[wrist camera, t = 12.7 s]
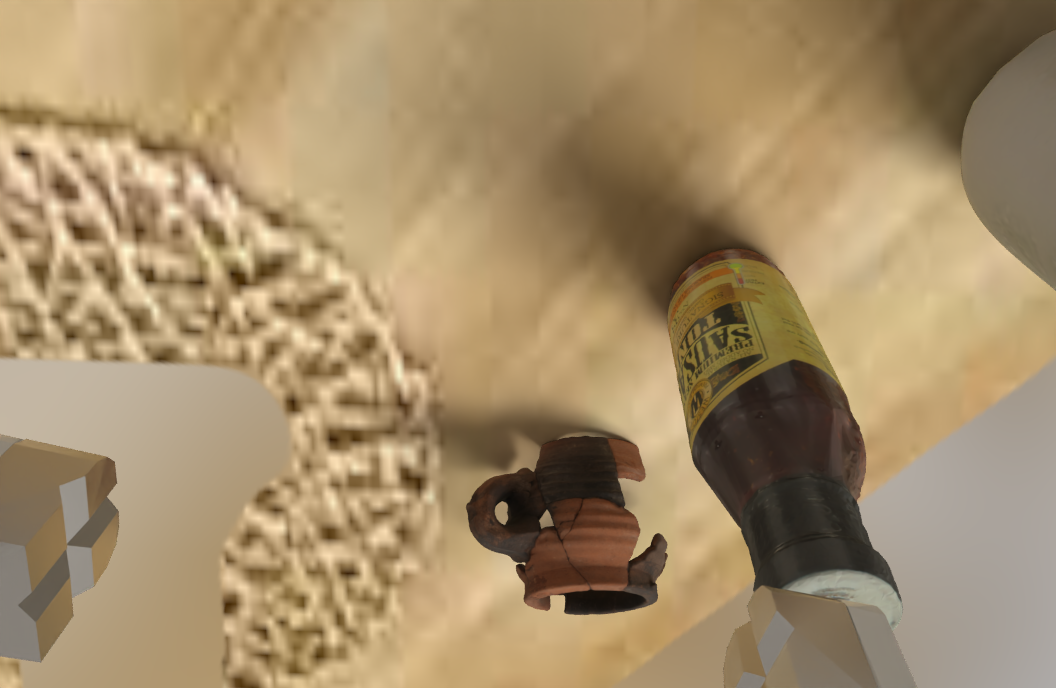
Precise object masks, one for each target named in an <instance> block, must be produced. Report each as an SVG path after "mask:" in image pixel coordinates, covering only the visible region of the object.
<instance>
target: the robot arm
mask: <svg viewBox="0 0 1056 688" xmlns="http://www.w3.org/2000/svg"><path fill="white" fill-rule="evenodd" d="M116 484H117V479H116V469H115V462H114V461H113V460H111V459H110V458H108V457H105V456H101V455H96V454H92V453H87V452H83V451H78V450H73V449H69V448H65V447H60V446H56V445H51V444H47V443H42V442H37V441H32V440H28V439H25V440H23V439H19V438H14V437H10V436H5V435H1V434H0V656H2V657H8V658H15V659H21V660H28V661H35V662H42V660H43V659H44V657H45V656H46V655H47V653H48V652H49V650H50V649H51V647H52V646H53V644H54V643H55V642H56V640H57V639H58V637H59V636H60V634H61V633H62V632H63V630H64V629H65V628H66V626H67V625H68V623H69V622H70V620H71V619H72V618H73V616H74V615H73V604H72V598H73V597H75V596H77V595H79V594H81V593H83V592H85V591H87V590H88V589H90V588H92V587H94V586H95V584H96V583H97V581H98V580H99V578H100V577H101V575H102V574H103V572H104V571H105V569H106V568H107V566H108V563H109V561H110V558H111V556H112V553H113V551H114V548H115V546H116V542H117V535H118V529H119V512H118V510H117V509H116V507H115V506H114V505H113V504H112V502H111V501H110V500H109V499H108V498H107V495H108V494H109V493H110V491H111V490H112V489H113V487H114V486H115V485H116ZM747 607H748V612H749V616H750V620H751V621H749V622H748V623H746V624H744V625H742V626H741V627H739V628H737V629H735V631H734V633H733V635H732V638H731V640H730V642H729V645H728V647H727V650H726V656H725V662H724V668H723V670H724V671H723V672H724V673H723V674H724V688H917V685H916V683H915V681H914V679H913V676H912V674H911V672H910V670H909V667H908V665H907V663H906V661H905V659H904V656H903V654H902V652H901V649H900V647H899V645H898V643H897V640H896V638H895V636H894V634H893V631H892V629H891V627H890V625H889V622H888V620H887V618H886V616H885V614H884V613H883V612H882V611H881V610H880V609H879V608H878V607H877V606H874V605H869V604H863V603H858V602H852V601H847V600H841V599H837V600H835V599H833V598H828V597H823V596H817V595H812V594H807V593H801V592H796V591H791V590H785V589H780V588H775V587H769V586H764V585H762V586H760V587H759V588H758V589H757V590H756V591H755V592H754V593H753V595H752V597H751V599H750V601H749V603H748V605H747Z"/></svg>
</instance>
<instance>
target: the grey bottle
mask: <svg viewBox="0 0 1056 688" xmlns="http://www.w3.org/2000/svg"><path fill="white" fill-rule="evenodd" d="M961 173H962V180H963V185H964V188H965V192H966V195H967V197H968V200H969V202H970V204H971V206H972V208H973V210H974V211H975V213H976V215H977V216H978V217H979V219H980V220H981V222H982V223H983V224H984V226H985V227H986V228H987V229H988V231H989V232H990V233H991V234H992V235H993V236H994V237H995V238H996V239H997V240H998V241H999V242H1000V243H1001V244H1002V245H1003V246H1004V247H1005V248H1006V249H1007V250H1008V251H1009V252H1010V253H1012V254H1013V255H1014V256H1015V257H1016V258H1017V259H1018V260H1019V261H1021V262H1022V263H1023V264H1024V265H1025V266H1027V267H1028V268H1029V269H1030V270H1031V271H1033V272H1034V273H1035V274H1036V275H1037V276H1039V277H1040V278H1041V279H1042V280H1044V281H1045V282H1046V283H1047V284H1048V285H1050V286H1051V287H1052V288H1053V289H1054V290H1056V30H1054V31H1051V32H1049V33H1047V34H1045V35H1042V36H1040V37H1039V38H1038V39H1036V40H1035V41H1034V42H1033V43H1031V44H1030V45H1029V46H1028V47H1027V48H1025V49H1024V50H1023V51H1022V52H1020V53H1019V54H1018V55H1017V56H1015V57H1014V58H1013V59H1012V60H1010V61H1009V62H1008V63H1007V64H1005V65H1004V66H1003V67H1002V68H1000V69H999V70H998V71H997V73H996V74H995V75H994V77H993V78H992V79H991V80H990V82H989V83H988V84H987V85H986V87H985V88H984V89H983V91H982V92H981V93H980V94H979V96H978V97H977V98H976V99H975V101H974V102H973V104H972V107H971V109H970V111H969V114H968V116H967V119H966V123H965V127H964V131H963V139H962V149H961Z"/></svg>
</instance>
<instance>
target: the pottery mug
mask: <svg viewBox="0 0 1056 688" xmlns="http://www.w3.org/2000/svg"><path fill="white" fill-rule="evenodd" d="M618 478H626V479H631V480H636V481H639V482H640V481H642V480H643V479H644V478H645V469H644V466H643V464H642V460H641V457H640V454H639V449H638V447H637V446H636V445H633V444H631V443H629V442H626V441H622V440H618V439H610V438H608V439H607V438H603V437H589V436H582V437H569V438H562V439H559V440H555V441H552V442H549V443H546V444H544V445H542V447H541V450H540V457H539V460H538V461H537V465H536V469H535V471H534V472H532V471H531V470H529V469H528V468H522V469H520V470H519V471H518V472H517V473H514V474H504V475H500V476H495V477H492V478H490V479H488V480H487V481H485V482H484V483H483V484H482V485H481V486H480V487H479V488H478V489H477V490H476V491H475V492H474V494H473V496H472V499H471V501H470V502H469V503H467V505H466V509H467V513H468V520H469V527H470V530H471V532H472V534H473V536H474V537H475V538H476V540H477V541H478V542H479V543H480V544H481V545H482V546H484V547H485V548H487V549H489V550H491V551H494V552H497V553H502V554H506V555H508V556H510V557H511V558H512V560H513V561H515V562H517V563H522V562H525V563H526V564H525V566H524V565H523V564H518V565H516V571H517V574H518V576H519V578H520V579H521V580H522V581H523V582H524V583H525V595H524V602H525V603H526V604H527V605H528V606H531V607H533V608H535V609H540V610H546V611H548V610H549V609H550V596H551V595H564V596H565V610H564V612H565V613H566V614H574V615H589V614H609V613H617V612H624V611H630V610H635V609H638V608H642V607H646V606H648V605H651V604H653V603H655V602H656V601H657V599H658V594H657V584H656V583H655V581H656V579H657V578H658V577H659V576H660V574H661V573H662V571H663V569H664V567H665V562H666V560H667V557H668V555H667V553H665V551H666V548H667V542H666V540H665V539H664V537H663V536H662V535H661V534H659V533H657V534H655V535H654V537H653V539H652V542H651V546H650V547H648V548H647V549H646V550H645V551H644V552H643V553H642V554H641V555H639V556H638V557H636V558H634V559H632V560H630V558H631V556H632V555H633V550H634V548H635V546H636V543H637V540H638V537H639V534H640V528H639V525H638V521H637V519H636V517H635V516H634V515H633V514H632V513H631V512H629V511H628V510H626V509H624V506H625V501H624V498H623V494H622V491H621V488H620V483H619V481H618ZM501 501H503V502H506V503H507V504H508V511H507V514H508V520H507V522H506V525H503V524H501V523H500V522H499V521H498V520H497V518H496V516H495V506H496V505H497V504H498V503H500V502H501ZM546 510H548V511H549V513H550V515H551V518H552V521H553V524H554V526H550V527H545V528H543V529H541V527H540V522H539V520H540V518H541V517H542V516H543V514H544V512H545V511H546ZM629 560H630V561H629Z"/></svg>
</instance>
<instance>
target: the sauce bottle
mask: <svg viewBox="0 0 1056 688" xmlns="http://www.w3.org/2000/svg"><path fill="white" fill-rule="evenodd" d="M667 323H668V330H669V335H670V341H671V346H672V352H673V357H674V362H675V367H676V372H677V380H678V384H679V391H680V394H681V400H682V404H683V410H684V415H685V421H686V427H687V432H688V438H689V444H690V449H691V453H692V459H693V462H694V465H695V467H696V468H697V470H698V471H699V472H700V474H701V475H702V476H703V478H704V479H705V481H706V482H707V483H708V485H709V486H710V487H711V489H712V490H713V492H714V493H715V494H716V496H717V497H718V499H719V500H720V501H721V503H722V504H723V505H724V507H725V508H726V510H727V511H728V512H729V514H730V515H731V516H732V518H733V519H734V521H735V522H736V523H737V525H738V526H739V527H740V528H741V532H742V535H743V537H744V540H745V542H746V544H747V546H748V548H749V552H750V556H751V560H752V564H753V567H754V572H755V576H756V577H755V582H754V588H753V591H754V592H755V591H756V590H757V589H758V588H759V587H760V586H762V585H764V586H769V587H775V588H780V589H785V590H791V591H796V592H801V593H807V594H812V595H817V596H823V597H828V598H833V599H835V600H837V599H841V600H847V601H852V602H858V603H863V604H869V605H874V606H877V607H878V608H879V609H880V610H881V611H882V612H883V613H884V614H885V616H886V618H887V620H888V622H889V625H890V627H891V629H892V631H893V630H894V629H895V628H896V627H897V625H898V624H899V622H900V620H901V616H902V608H903V607H902V601H901V597H900V594H899V592H898V588H897V585H896V583H895V581H894V578H893V575H892V573H891V570H890V567H889V566H888V564H887V562H886V560H885V559H884V558H883V557H882V556H881V555H880V554H879V552H877V551H875V550H874V549H873V547H872V545H871V542H870V541H869V537H868V533H867V531H866V529H865V527H864V526H863V524H862V519H861V515H860V512H859V506H858V504H857V499H858V498H859V497H860V492H861V487H862V485H863V481H864V476H865V473H866V451H865V446H864V441H863V438H862V434H861V432H860V427H859V425H858V424H857V422H856V420H855V419H854V417H853V415H852V413H851V411H850V406H849V402H848V399H847V396H846V394H845V392H844V390H843V388H842V386H841V384H840V382H839V380H838V377H837V375H836V373H835V371H834V369H833V367H832V365H831V363H830V361H829V359H828V357H827V355H826V353H825V351H824V349H823V347H822V345H821V343H820V341H819V339H818V337H817V335H816V333H815V331H814V329H813V327H812V325H811V323H810V321H809V318H808V316H807V314H806V312H805V310H804V308H803V306H802V304H801V302H800V300H799V298H798V296H797V294H796V292H795V290H794V288H793V287H792V285H791V284H790V282H789V281H788V280H787V279H786V277H785V275H784V274H783V272H782V271H780V270H779V269H778V268H777V266H775V265H774V264H773V263H772V262H770V261H769V260H768V259H767V258H766V257H764V256H763V255H760V254H758V253H756V252H754V251H750V250H746V249H733V248H730V249H724V250H719V251H715V252H711V253H709V254H707V255H705V256H704V257H702V258H700V259H699V260H697V261H696V262H694V263H693V264H692V265H690V266H689V267H688V268H687V269H686V270H685V271H684V272H683V273H682V274H681V275H680V277H679V279H678V281H677V282H676V283H675V284H674V285H673V290H672V293H671V298H670V305H669V310H668V318H667Z"/></svg>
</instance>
